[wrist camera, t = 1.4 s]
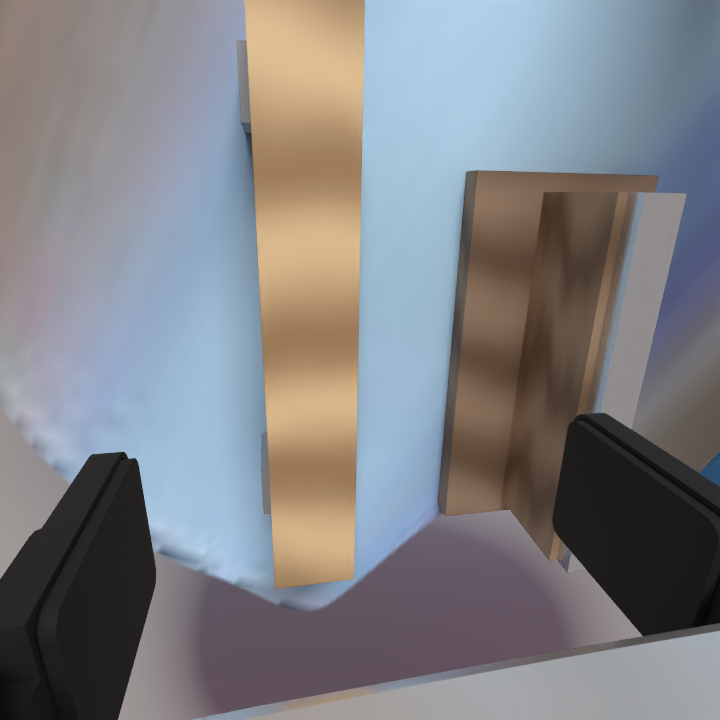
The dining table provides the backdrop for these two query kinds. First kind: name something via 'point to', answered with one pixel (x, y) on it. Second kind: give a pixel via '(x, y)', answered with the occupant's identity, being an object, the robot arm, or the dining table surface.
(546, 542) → the stand
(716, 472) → the perfume bottle
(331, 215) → the oak batten
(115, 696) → the robot arm
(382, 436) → the dining table surface
